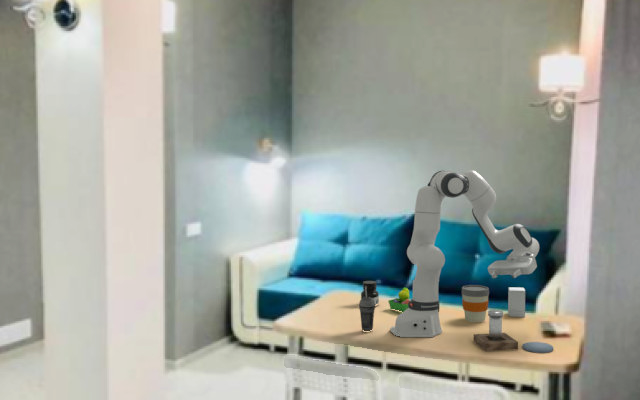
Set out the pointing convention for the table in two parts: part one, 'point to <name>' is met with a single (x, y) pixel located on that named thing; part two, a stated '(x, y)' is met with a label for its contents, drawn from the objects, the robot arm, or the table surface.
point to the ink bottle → (370, 291)
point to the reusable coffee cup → (475, 302)
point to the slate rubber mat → (537, 347)
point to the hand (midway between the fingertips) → (503, 276)
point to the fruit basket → (400, 301)
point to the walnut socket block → (495, 342)
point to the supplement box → (516, 302)
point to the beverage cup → (367, 312)
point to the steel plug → (495, 325)
